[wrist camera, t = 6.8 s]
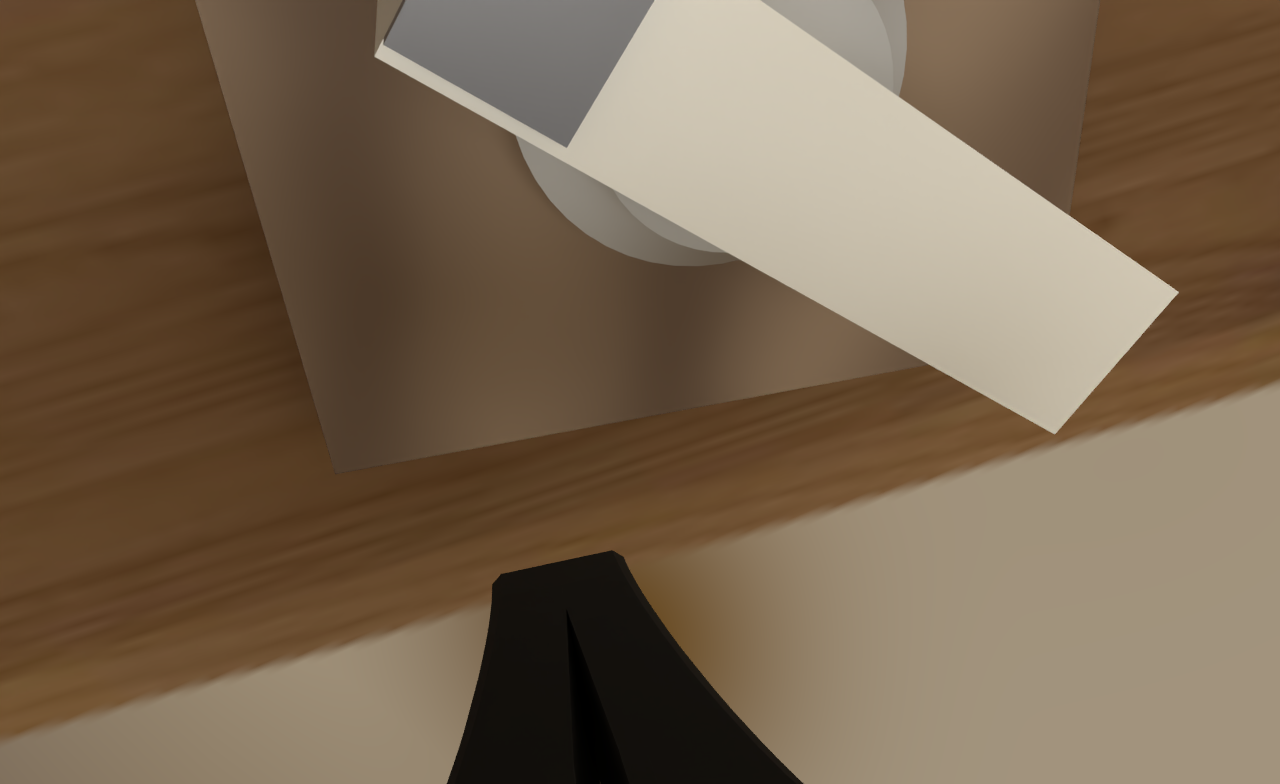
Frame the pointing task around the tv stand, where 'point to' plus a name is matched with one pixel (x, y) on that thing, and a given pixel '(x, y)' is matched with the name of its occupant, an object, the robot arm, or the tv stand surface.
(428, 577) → the tv stand surface
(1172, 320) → the tv stand surface
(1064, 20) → the base
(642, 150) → the lock handle
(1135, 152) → the tv stand surface
